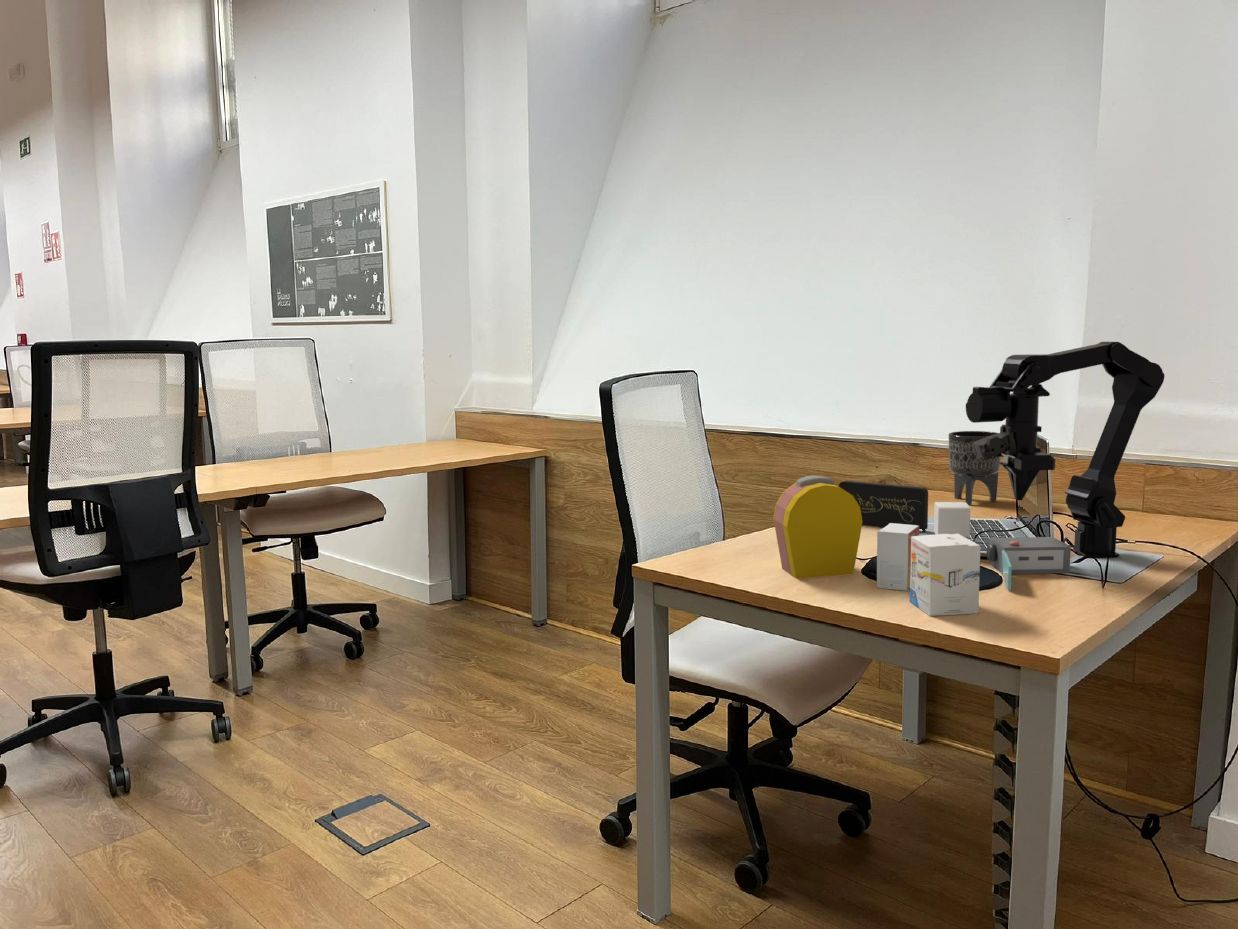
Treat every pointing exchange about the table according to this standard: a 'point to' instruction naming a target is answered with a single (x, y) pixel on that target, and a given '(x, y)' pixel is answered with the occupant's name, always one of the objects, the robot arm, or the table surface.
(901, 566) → the small box
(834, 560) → the yellow arched block
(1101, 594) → the table surface
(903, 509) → the nameplate
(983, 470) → the planter
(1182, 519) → the table surface
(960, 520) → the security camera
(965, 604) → the ink box
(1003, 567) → the side door
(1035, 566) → the box
